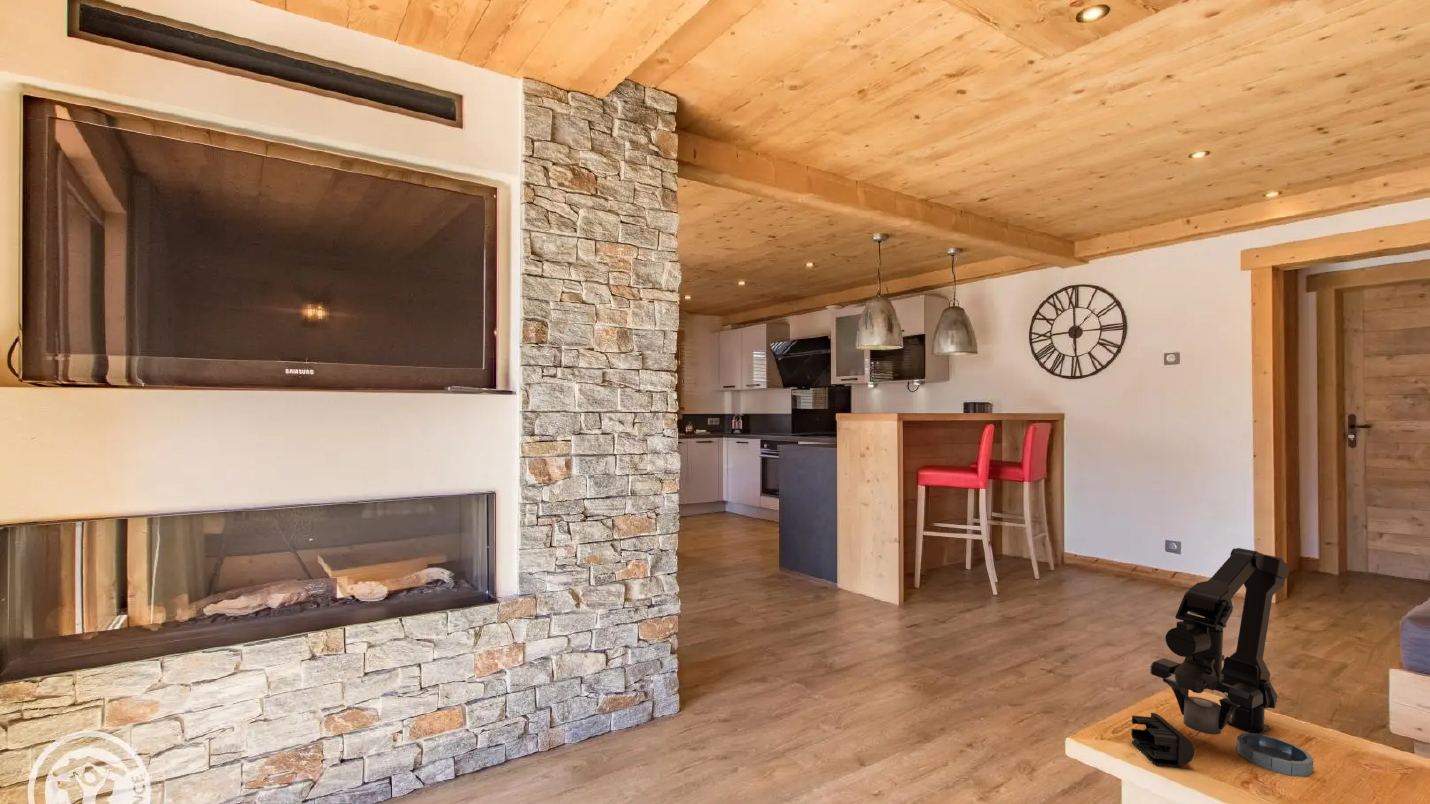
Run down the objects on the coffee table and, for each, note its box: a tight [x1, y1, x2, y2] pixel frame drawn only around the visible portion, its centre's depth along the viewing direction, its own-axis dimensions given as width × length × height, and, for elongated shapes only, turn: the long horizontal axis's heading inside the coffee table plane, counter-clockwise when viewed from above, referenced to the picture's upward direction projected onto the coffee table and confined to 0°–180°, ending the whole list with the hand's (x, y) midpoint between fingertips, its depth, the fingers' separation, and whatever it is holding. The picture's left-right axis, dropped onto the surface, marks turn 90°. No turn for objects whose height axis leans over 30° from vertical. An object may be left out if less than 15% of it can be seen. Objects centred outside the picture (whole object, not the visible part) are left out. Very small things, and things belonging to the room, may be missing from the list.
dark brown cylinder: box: [1183, 696, 1222, 736], centre depth 139 cm, size 6×6×5 cm
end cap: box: [1130, 712, 1195, 769], centre depth 134 cm, size 10×7×7 cm
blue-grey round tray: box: [1236, 732, 1314, 777], centre depth 134 cm, size 12×12×2 cm
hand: (1202, 721), depth 139 cm, fingers closed on dark brown cylinder, 6 cm apart
